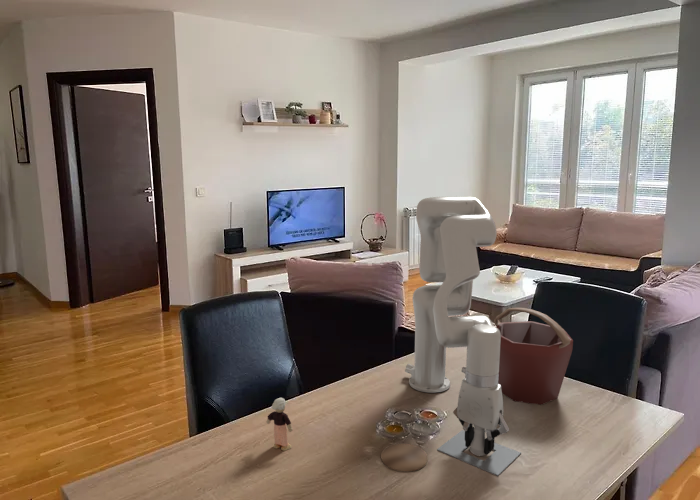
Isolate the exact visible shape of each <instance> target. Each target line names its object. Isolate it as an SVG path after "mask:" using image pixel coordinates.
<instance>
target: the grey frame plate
mask: <svg viewBox="0 0 700 500" xmlns="http://www.w3.org/2000/svg"><path fill="white" fill-rule="evenodd" d="M467 449H469V447H466V446H465V431H464V430H463V429H462V430H460V431H458V432H457V433H456V434H455V435H454V436H453V437H451V438H450V439H448V440H447V441H446V442H444V443H443V444H442V445H441V446H439V447H438V448H437V450H436V451H438V452H440V453H443V454H445V455H446V456H447V455H448V456H449V457H452V458H455V459H457V460H460V461H462V462H464V463H465V464H469V465H471V466H473V467H475V468H478V469H480V470H483V471H484V472H487V473H489V474H492V475H494V476H497V477H499V476H500V475H501V474H502V473H503V472H504V471H505V470H506V469H508V467H509V466H510V465H511V464H512V463H513V462H514V461H516V459H517V458H519V457H520V455H522V452H521V451H518V450H516V449H512V448H510V447H508V446H505V445H502V444H500V443H497V442H495V441H494V449H493V453H491V454H490V455H489V456H488V457H487V458H486V459H485V460H483V459H481V458H478V457H475V456H474V454H473V453H471V454H472V455H470V454H468V453H466V452H464V451H465V450H467Z"/></svg>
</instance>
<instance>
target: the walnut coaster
mask: <svg viewBox="0 0 700 500" xmlns="http://www.w3.org/2000/svg"><path fill="white" fill-rule="evenodd" d="M380 459H381V462H382V463H383V464H384V465H385V466H386V467H388V468H389V469H391V470H394V471H398V472H404V473H405V472H408V473H409V472H415V471H420V470H421V469H423V468H424V467H425V466H426V465H427V464H428V461H429V460H428V459H429V458H428V453H427V451H425V450H424V449H423V448H421V447H420V446H417V445H415V444H410V443H395V444H391V445H388V446H386V447H385V448H383V450H382V451H381V453H380Z"/></svg>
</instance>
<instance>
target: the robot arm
mask: <svg viewBox="0 0 700 500" xmlns="http://www.w3.org/2000/svg"><path fill="white" fill-rule="evenodd" d="M415 216H416V222H417V226H418V230H419V234H420V244H419V245H420V247H419V268H418V270H419V276H420V278H421V280H422V281H423V282H426V283H441V284H430V285H429V284H427V285H422V286H419V287H418V288H416V289H415V290H414V292H413V294H412V306H413V313H414V326H415V327H414V365H413V364H411V363H407V365H405V369H404V372H405V373H407V374H410V375H411V376H410V377H409V380H408V384H409V386H410V388H412V389H414V390H415V391H419V392H422V393H429V394H434V393H441V392H444V391H446V390H448V389H450V387H451V381H450V379H449V378H448V377H447V376H446V366H447V365H446V364H447V363H446V360H447V348H448V349H450V348H451V349H452V348H456V349H457V348H466V365H465V366H463V367H461V373H463V374H465V375H464V378H463V379H462V381H461V384H460V388H459V393H458V399H457V406H456V408H454V410H453V411H452V413H453V415H454V416H455V417H456V418H457V419H458V422H459V423H460V424H461V426H462V430H464V431H465V446H466V447H468V448H470V444H471V442H472V440H473V439H474V433H475V432H474V429H475V427H474V425H476V426H478V427H481V428H484V429H485V430H486V432H485V435H486V437H485V442H484V453H485V454H486V455H485V456H487V455H489V454H490V453H491V452H494V450H493V449H494V442H495V441H496V440H495V438H497V437H498V436H500V435H504V434H507V433H508V432H509V430H510V428H509V426H508V424H507V422H506V420H505V418H504V399H503V398H504V397H503V393H502V389H501V385H500V384H498V383H499V363H500V344H501V333H500V331H499V329H497V328H496V326H495V324H494V322H493V320H491V318H489V317H488V316H487V315H483V314H481V315H480V314H479V315H478V314H477V315H466V314H467V313H469V311H470V309H471V306H472V297H473V296H472V295H473V283H474V280H475V279H477V278H478V277H479V276H480V274H481V270H480V264H479V258H478V257H479V256H478V251H477V248H478V247H480V248H483V247H490V246H492V245H494V244H495V242H496V240H497V236H498V235H497V233H498V231H497V226H496V223H495V220H494V218H493V216H492V215H491V213H490V212H489V210H488V209H487V208H486V207H485V205H483V203H482V202H481V200H479V199H478V198H477V197H474V196H432V197H431V196H430V197H426V198H423V199H421V200H419V202H418V203H417V205H416V210H415ZM498 426H499V427H498ZM497 427H498V428H497Z"/></svg>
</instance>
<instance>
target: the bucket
mask: <svg viewBox="0 0 700 500" xmlns="http://www.w3.org/2000/svg"><path fill="white" fill-rule="evenodd" d="M512 312H522V313H526V314H530V315H533V316H535V317H537V318H539V319H540V320H542V321H543V322H544V323H545V324H544V323H541V322H537V321H531V320H530V321H529V320H528V321H509V322H506V321H505V322H501V321H500V319H503V318H506V317H507V316H509V315H510V314H511V313H512ZM493 325H494V326H495V327H496V328H497V329H499V331H500V333H501V344H500V363H499V383H498V384H500V385H501V389H502V395H504V396H506V397H507V398H508V399H510V400H512V401H513V402H516V403H517V402H519V403H525V404H533V405H540V406H541V405H544V404H547V403H549V402H552V401H554V400H557V399H558V398H559V394H560V392H561V388H562V386H563V382H564V379H565V374H566V373H567V368H568V366H569V364H570V359H571V356H572V352H573V346H574V340H573V338H572V337H571V336H570V334H568V332H567V331H566V330H565V329H564V328H563V327H562V326H561V325H560V324H559V323H558V322H557V321H555V320H554V319H552V318H551V317H550V316H549V315H547V314H546V313H542V312H541V311H537V310H534V309H532V308H526V307H510V308H507V309H506V310H504V311H503V312H501V313H500V314H498V315H496V317H494V320H493Z"/></svg>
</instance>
